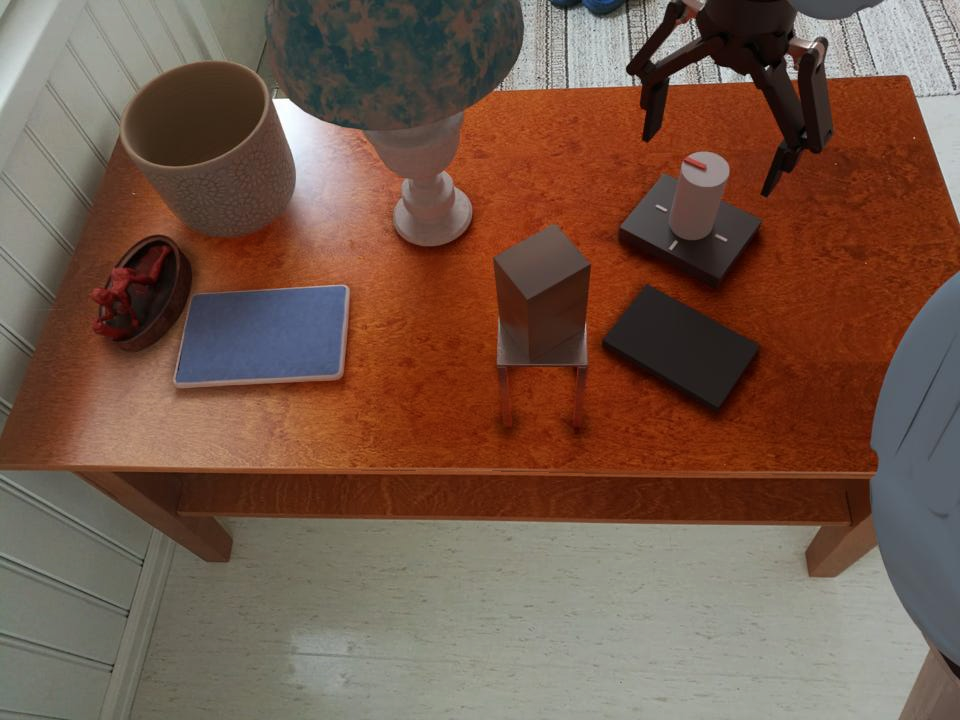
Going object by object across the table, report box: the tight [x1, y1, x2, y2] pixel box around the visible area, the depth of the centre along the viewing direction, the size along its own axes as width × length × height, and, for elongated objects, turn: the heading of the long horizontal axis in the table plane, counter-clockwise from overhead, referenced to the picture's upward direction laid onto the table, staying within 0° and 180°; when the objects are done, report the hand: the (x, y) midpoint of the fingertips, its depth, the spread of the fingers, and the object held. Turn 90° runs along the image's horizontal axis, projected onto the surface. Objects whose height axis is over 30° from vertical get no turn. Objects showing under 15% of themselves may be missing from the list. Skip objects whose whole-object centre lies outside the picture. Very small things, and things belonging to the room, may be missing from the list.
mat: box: [601, 283, 761, 413], centre depth 80 cm, size 14×9×1 cm, turn 53°
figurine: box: [90, 233, 193, 353], centre depth 86 cm, size 15×10×10 cm, turn 4°
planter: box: [118, 59, 297, 239], centre depth 88 cm, size 17×17×15 cm
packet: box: [492, 222, 592, 362], centre depth 62 cm, size 5×6×10 cm
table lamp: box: [264, 0, 525, 247], centre depth 74 cm, size 24×24×40 cm
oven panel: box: [617, 172, 763, 290], centre depth 87 cm, size 13×10×2 cm
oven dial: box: [669, 151, 731, 240], centre depth 82 cm, size 5×5×9 cm
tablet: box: [172, 284, 351, 389], centre depth 85 cm, size 19×13×1 cm, turn 91°
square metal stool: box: [496, 311, 589, 428], centre depth 73 cm, size 8×8×14 cm
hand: (708, 160), depth 76 cm, fingers open, 13 cm apart
